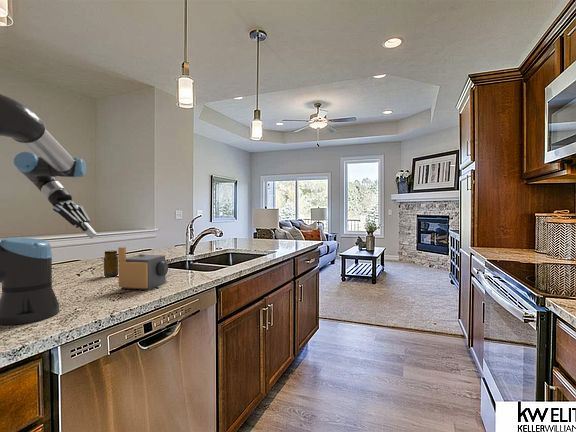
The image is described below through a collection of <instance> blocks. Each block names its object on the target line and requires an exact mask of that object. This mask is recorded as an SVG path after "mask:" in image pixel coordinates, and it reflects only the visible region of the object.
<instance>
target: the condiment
mask: <svg viewBox="0 0 576 432" xmlns="http://www.w3.org/2000/svg"><path fill="white" fill-rule="evenodd" d="M118 274H119V260H118V250H105V251H104V257H103V276H105V277H104V278H112V277H111V276H115V277H118V278H119V276H117V275H118ZM115 277H114V278H115Z"/></svg>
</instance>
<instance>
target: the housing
mask: <svg viewBox="0 0 576 432" xmlns="http://www.w3.org/2000/svg"><path fill="white" fill-rule="evenodd" d="M126 262H147V263H148V288H127V287H121V289H123V290H124V289H125V290H141V291H143V290H144V291H149V290H152V289H154V288H157V287H159V286H162V285H164V284H166V275H167V274H168V272H169V263H168V262H167V261H166V255H164V254H145V253H139V254H137V255H132V256H128V257H126Z"/></svg>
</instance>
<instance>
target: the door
mask: <svg viewBox="0 0 576 432" xmlns="http://www.w3.org/2000/svg"><path fill="white" fill-rule="evenodd" d="M126 249H127V247H125V246H124V247H123V246H119V247H118V249H117V256H118V274H119V277H118V288H122V287H127V288H148V263H147V262H126V258H127V250H126Z"/></svg>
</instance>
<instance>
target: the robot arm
mask: <svg viewBox="0 0 576 432" xmlns="http://www.w3.org/2000/svg"><path fill="white" fill-rule="evenodd" d="M1 136H2V137H7V138H12V139H13V140H14V141H16V142H18V143H20V144H24V145H25V146H26V147H28V148H29V149H30V150H31V151H32V152H31V151H21V152H19V153H17V154H16V155H15V156H14V158H13V165H14V166H15V167H16V169H17V170H18V171H19V172H20V173H22V174H23V175H24V176H25V177H26V178H27V179H28V180H29V181H30V182H31V183H32V184H33V185H34V186H35V187H36V188H37V189H38V190H39V192H41V194H42V195H43V196H44V197H45V199H46V200H47V201H48V202H49V203H50V204H51V206H53V208H52V210H53V211H54V212H55V213H57V214H58V215H60V216H61V217H63V219H64V220H66V221H67V222H68V223H69V224H70V225H72V226H74V227H75V228H76V229H77V228H80V229H81V231H83V232H84V234H85V235H87V237H88V238H89V239H93V238H94V237H95V236H96V235H97V234H98V232H96V230H94V228H93V227H92V226H91V224H90V222H91V219H90V217H89V215H88V214H87V212H86V211H85V209H84V206H83V205H82V204H80V205H79V204H76V202H75V201H74V200H73V199H72V198H73V196H72V195H71V193H70V192H69V191H68V190H67V188H65V187H64V186H63V185H62V183H61V182H59V180H58V179H57V178H59V177H60V178H83V177H85V175H87V164H86V161H85V159H83V158H79V157H73V156H72V155H70V153H69V152H68V151H67V150H66V149H65V148H64V147H63V146H62V145H61V144H60V142H59V141H57V140H56V138H54V136H53V135H52V134H51V133H50V132H49V131H48V130H47V129H46V124H45V122H44V121H43V120H42V119H41V118H40V116H39V115H38V114H36V113H35V112H34V111H33V110H31V109H30V107H27V106H26V105H24V104H22V103H20V102H19V101H17V100H15V99H13V98H11V97H9V96H7V95H3V94H2V93H0V137H1ZM33 152H34V153H33ZM51 247H52V246H51V243H49V242H48V241H47V240H44V239H40V238H39V239H38V238H30V237H7V238H2V239H1V240H0V284H1V296H0V325H2V326H3V325H4V326H5V325H6V326H9V325H10V326H11V325H23V324H28V323H33V322H38V321H41V320H45V319H48V318H51V317H53V316H56V315H58V314H59V313H60V303H59V301H58V300H57V296H56V293H55V291H54V289H53V267H52V265H53V264H52V263H53V262H52V260H53V259H52V258H53V254H52V248H51Z"/></svg>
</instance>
